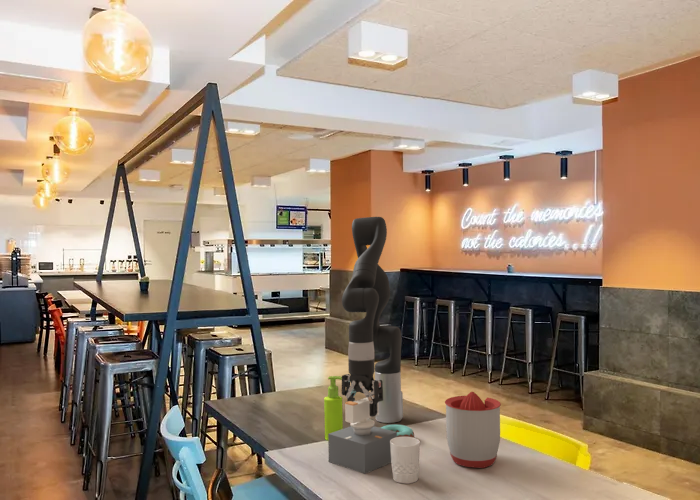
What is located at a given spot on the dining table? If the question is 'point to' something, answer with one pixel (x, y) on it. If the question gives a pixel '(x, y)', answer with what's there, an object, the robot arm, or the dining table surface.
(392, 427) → the donut
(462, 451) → the citrus juicer
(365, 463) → the box
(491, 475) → the dining table surface
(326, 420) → the soap dispenser
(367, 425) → the wing knob
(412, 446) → the white cup
